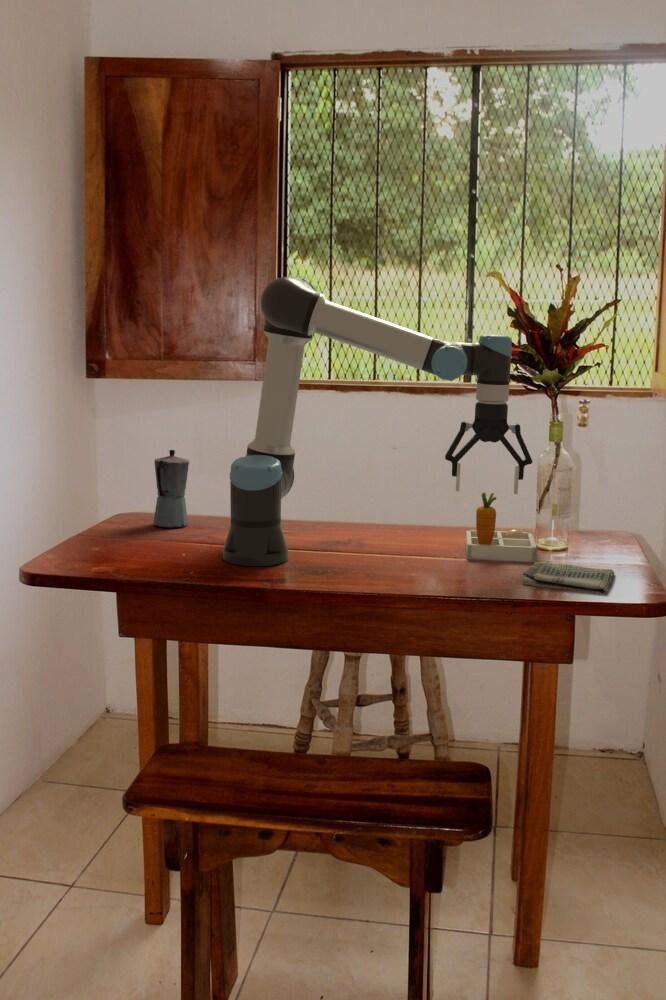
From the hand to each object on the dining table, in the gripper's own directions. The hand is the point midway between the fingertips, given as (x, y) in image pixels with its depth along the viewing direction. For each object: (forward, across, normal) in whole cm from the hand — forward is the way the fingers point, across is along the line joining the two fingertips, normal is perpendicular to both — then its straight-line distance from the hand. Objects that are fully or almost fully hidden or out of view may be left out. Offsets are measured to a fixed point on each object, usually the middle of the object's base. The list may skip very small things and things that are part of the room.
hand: (486, 491), depth 249 cm
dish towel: (+16, -18, +18) cm, 30 cm away
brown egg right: (+15, -8, -8) cm, 19 cm away
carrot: (+15, 0, 0) cm, 15 cm away
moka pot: (+17, +81, -18) cm, 84 cm away
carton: (+16, -4, -4) cm, 16 cm away
